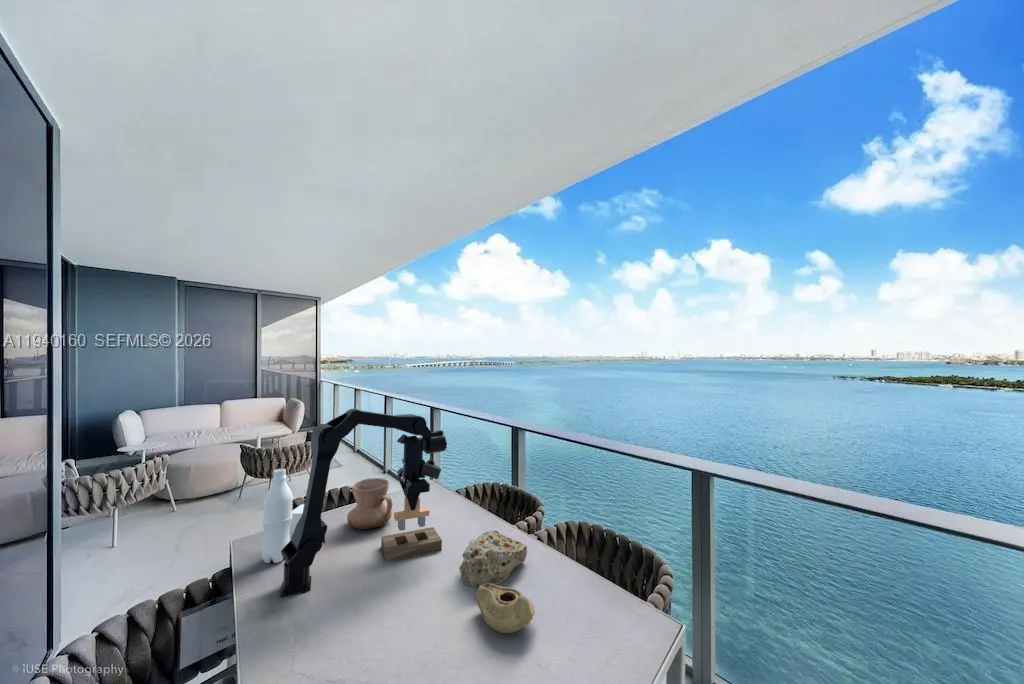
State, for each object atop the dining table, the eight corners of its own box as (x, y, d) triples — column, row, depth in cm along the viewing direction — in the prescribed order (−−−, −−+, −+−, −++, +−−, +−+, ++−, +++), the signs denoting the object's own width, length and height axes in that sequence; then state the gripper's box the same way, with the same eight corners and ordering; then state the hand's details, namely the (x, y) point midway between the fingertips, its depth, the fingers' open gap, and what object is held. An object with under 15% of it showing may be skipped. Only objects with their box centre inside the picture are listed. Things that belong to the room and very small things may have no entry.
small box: (303, 549, 115) (304, 513, 115) (284, 549, 115) (286, 513, 115) (317, 537, 123) (318, 503, 123) (300, 537, 123) (301, 503, 123)
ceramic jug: (335, 526, 131) (336, 484, 131) (368, 511, 143) (370, 473, 144) (372, 539, 122) (374, 494, 123) (404, 522, 135) (406, 481, 135)
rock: (485, 551, 117) (494, 519, 117) (527, 575, 110) (536, 540, 110) (445, 576, 98) (456, 538, 99) (492, 607, 92) (503, 566, 92)
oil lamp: (487, 598, 92) (488, 564, 92) (544, 620, 84) (544, 582, 84) (459, 625, 82) (459, 587, 83) (520, 652, 75) (520, 610, 75)
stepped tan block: (429, 525, 117) (429, 497, 117) (395, 531, 113) (396, 502, 113) (426, 521, 120) (427, 494, 120) (393, 527, 115) (394, 498, 116)
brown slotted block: (441, 550, 115) (441, 539, 115) (386, 561, 108) (386, 551, 108) (433, 536, 124) (433, 526, 124) (381, 546, 117) (381, 536, 117)
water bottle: (276, 567, 105) (280, 474, 106) (254, 564, 106) (258, 472, 107) (296, 554, 112) (299, 467, 113) (275, 551, 113) (278, 466, 114)
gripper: (447, 460, 113) (446, 514, 112) (431, 447, 129) (430, 494, 128) (409, 464, 108) (407, 521, 107) (397, 450, 124) (396, 499, 123)
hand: (411, 508), depth 116 cm, fingers closed on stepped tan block, 3 cm apart
